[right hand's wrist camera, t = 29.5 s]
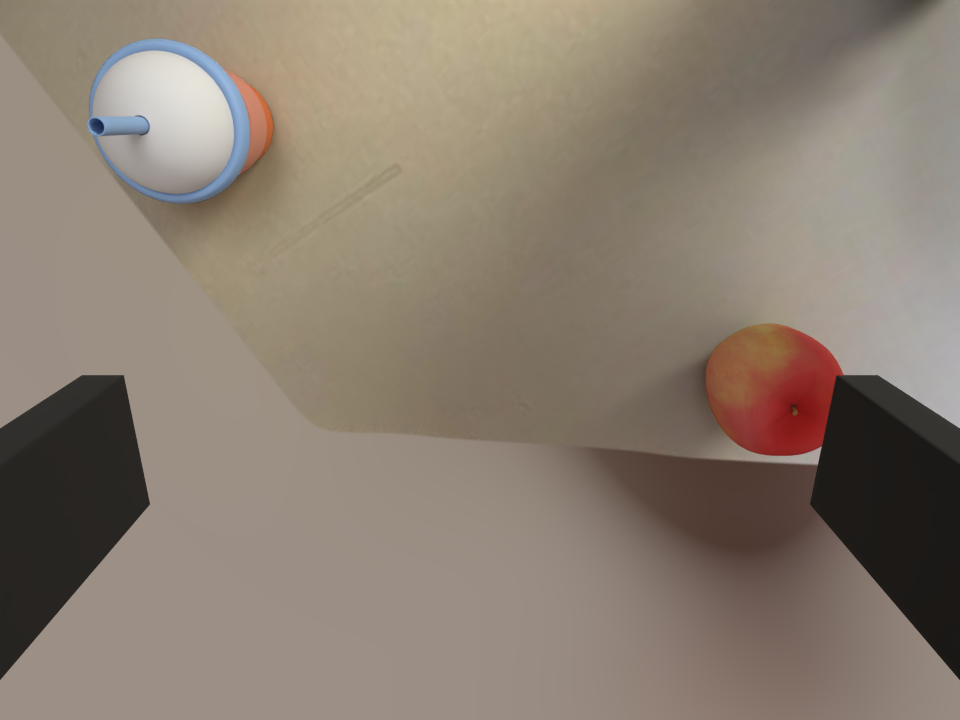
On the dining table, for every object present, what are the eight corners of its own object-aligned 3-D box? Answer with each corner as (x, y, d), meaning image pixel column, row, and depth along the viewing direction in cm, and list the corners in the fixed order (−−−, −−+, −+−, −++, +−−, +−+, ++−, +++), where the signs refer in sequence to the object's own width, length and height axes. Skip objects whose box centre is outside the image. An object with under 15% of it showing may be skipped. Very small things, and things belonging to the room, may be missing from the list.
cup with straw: (200, 201, 50) (56, 245, 33) (147, 76, 47) (-42, 53, 30) (312, 167, 49) (223, 194, 32) (266, 37, 46) (141, -9, 29)
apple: (819, 317, 53) (892, 360, 44) (783, 423, 56) (843, 484, 47) (703, 300, 52) (752, 340, 43) (674, 407, 56) (713, 466, 46)
